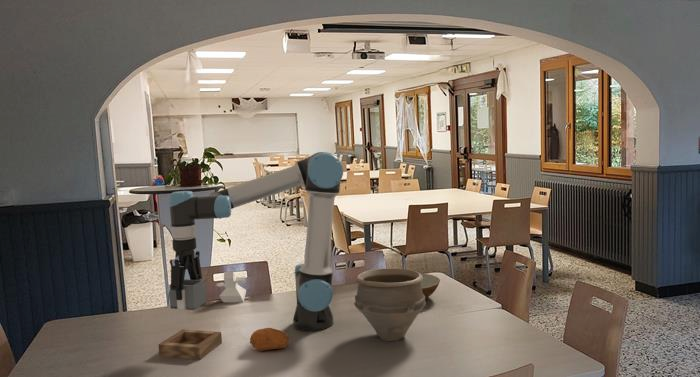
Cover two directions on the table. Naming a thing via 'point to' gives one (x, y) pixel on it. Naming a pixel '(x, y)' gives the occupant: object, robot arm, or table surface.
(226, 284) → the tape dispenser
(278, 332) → the potato
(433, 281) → the bowl
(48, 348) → the table surface
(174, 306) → the grey open box
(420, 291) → the planter
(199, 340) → the walnut crate
